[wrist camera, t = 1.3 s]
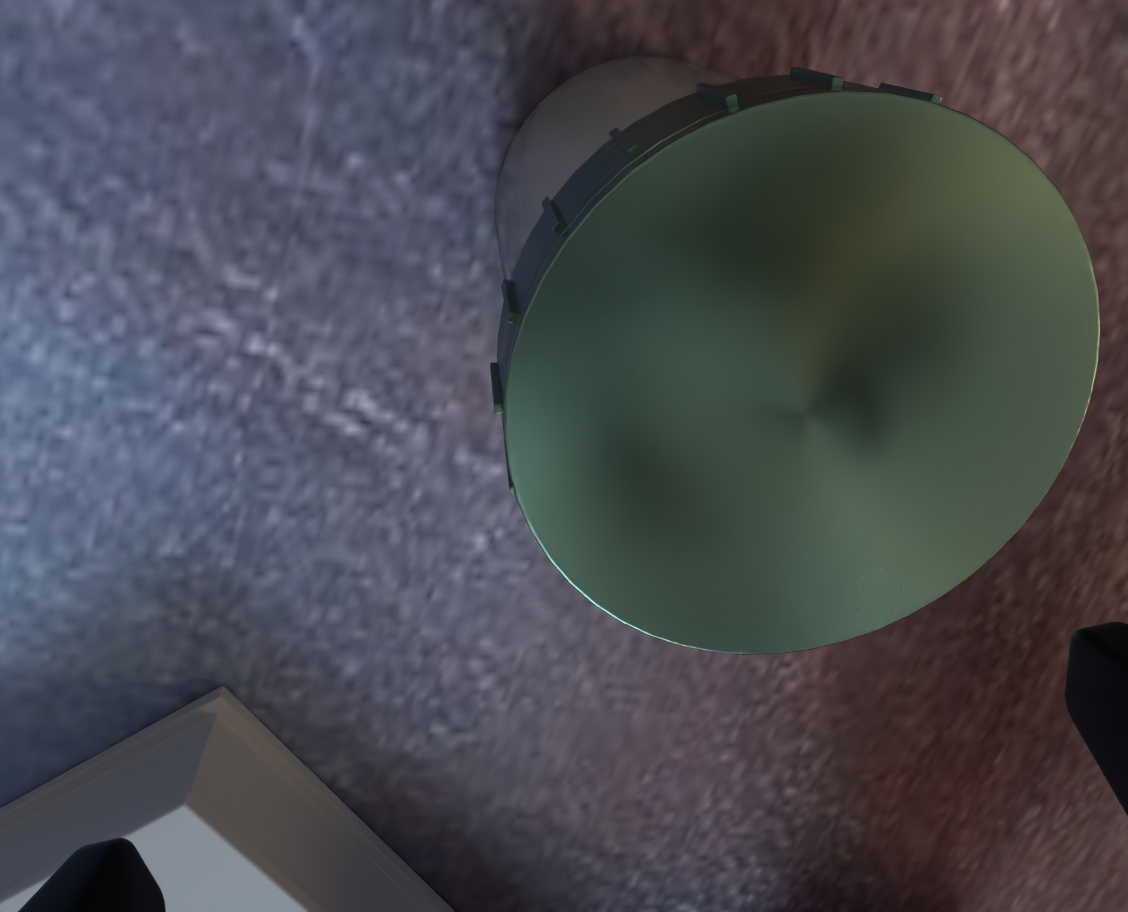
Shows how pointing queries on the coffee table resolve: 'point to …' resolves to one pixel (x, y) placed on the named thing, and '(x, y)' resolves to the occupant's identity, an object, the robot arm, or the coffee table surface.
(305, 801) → the book
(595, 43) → the coffee table surface
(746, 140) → the jar lid
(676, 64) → the jar
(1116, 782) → the robot arm
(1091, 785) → the coffee table surface
